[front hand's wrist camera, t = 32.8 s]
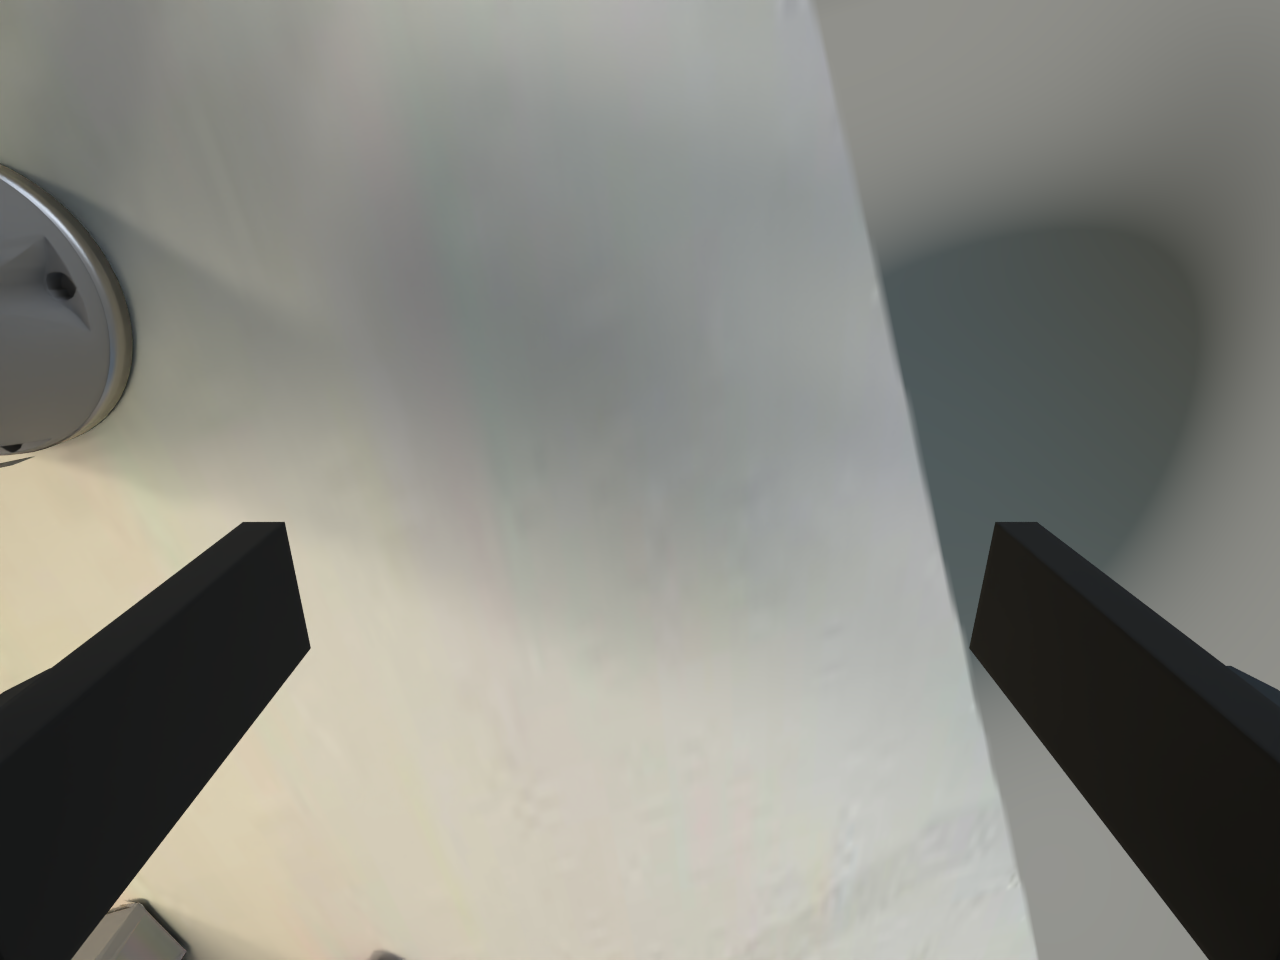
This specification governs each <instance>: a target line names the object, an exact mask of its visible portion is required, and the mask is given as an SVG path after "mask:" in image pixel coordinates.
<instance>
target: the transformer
mask: <svg viewBox="0 0 1280 960" xmlns="http://www.w3.org/2000/svg"><path fill="white" fill-rule="evenodd" d="M120 906H126V907H130V908H127V909H123V910H120V911H116V912H113V913H109V914H106V915H105V916H104V918H103V919H102V920H101V921H100V923H99V924H98V925H97V927H96V928H95V929H94V931H93V932H92V933H91V934H90V936H89V937H88V938H87V940H86V941H85V942H84V944H83V945H82V946H81V947H80V949H79V950H78V951H77V953H76V954H75V955H74V957H73V958H72V959H71V960H181V959H182V958H183V956H184V954H185V953H186V951H187V950H185V949H184V948H183V947H182V946H181V945H180V944H179V943H178V942H177V941H176V940H175V939H174V938H173V937H172V936H171V935H170V934H169V933H168V932H167V931H166V930H165V929H164V928H163V927H162V926H161V925H160V924H159V923H158V922H157V921H156V920H155V919H154V918H153V917H152V916H151V915H150V914H149V912H148V911H147V910H146V909H145V907H144V906H143V904H140V903H133V904H125V905H120Z"/></svg>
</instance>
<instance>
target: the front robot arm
mask: <svg viewBox="0 0 1280 960" xmlns="http://www.w3.org/2000/svg"><path fill="white" fill-rule="evenodd" d="M132 352H133V341H132V329H131V321H130V317H129V312H128V308H127V304H126V301H125V298H124V295H123V292H122V290H121V287H120V285H119V282H118V280H117V278H116V276H115V274H114V272H113V270H112V268H111V266H110V264H109V262H108V261H107V259H106V257H105V256H104V254H103V253H102V251H101V249H100V248H99V246H98V245H97V244H96V242H95V241H94V240H93V238H92V237H91V235H90V234H89V233H88V232H87V231H86V229H85V228H84V227H83V226H82V225H81V224H80V222H79V221H78V220H77V219H76V218H75V217H74V216H73V215H72V214H71V213H70V212H69V211H68V210H67V209H66V208H65V207H64V206H63V205H62V204H60V203H59V202H58V201H57V200H56V199H55V198H54V197H52V196H51V195H50V194H48V193H47V192H46V191H45V190H43V189H42V188H41V187H39V186H38V185H36V184H35V183H33V182H32V181H30V180H29V179H27V178H25V177H24V176H22V175H20V174H19V173H17V172H15V171H13V170H11V169H9V168H7V167H5V166H3V165H1V164H0V455H13V454H22V453H29V452H35V451H38V450H42V449H46V448H48V447H51V446H54V445H56V444H59V443H61V442H64V441H67V440H69V439H72V438H74V437H77V436H79V435H81V434H83V433H85V432H87V431H89V430H90V429H92V428H93V427H94V426H96V425H97V424H99V423H100V422H101V421H102V420H103V419H104V418H105V417H106V416H107V415H108V414H109V413H110V412H111V410H112V409H113V408H114V407H115V405H116V403H117V402H118V400H119V399H120V397H121V395H122V393H123V391H124V389H125V386H126V383H127V380H128V377H129V373H130V368H131V363H132ZM34 457H35V456H34ZM29 458H32V457H29ZM29 458H24V459H19V460H14V461H9V462H4V463H0V468H1V467H6V466H10V465H14V464H17V463H19V462H22V461H24V460H27V459H29ZM310 648H311V647H310V642H309V638H308V633H307V628H306V623H305V618H304V613H303V609H302V604H301V599H300V594H299V589H298V584H297V580H296V575H295V570H294V565H293V560H292V555H291V551H290V546H289V541H288V536H287V531H286V526H285V522H243V523H241V524H240V525H239V526H237V527H236V528H235V529H233V530H232V531H231V532H229V533H228V534H227V535H226V536H224V537H223V538H222V539H220V540H219V541H218V542H216V543H215V544H214V545H212V546H211V547H210V548H208V549H207V550H206V551H205V552H203V553H202V554H201V555H199V556H198V557H197V558H195V559H194V560H193V561H191V562H190V563H189V564H187V565H186V566H185V567H183V568H182V569H181V570H180V571H178V572H177V573H176V574H174V575H173V576H172V577H170V578H169V579H168V580H166V581H165V582H164V583H162V584H161V585H160V586H159V587H157V588H156V589H155V590H153V591H152V592H151V593H149V594H148V595H147V596H145V597H144V598H143V599H141V600H140V601H139V602H138V603H136V604H135V605H134V606H132V607H131V608H130V609H128V610H127V611H126V612H124V613H123V614H122V615H120V616H119V617H118V618H116V619H115V620H114V621H113V622H111V623H110V624H109V625H107V626H106V627H105V628H103V629H102V630H101V631H99V632H98V633H97V634H95V635H94V636H93V637H92V638H90V639H89V640H88V641H86V642H85V643H84V644H82V645H81V646H80V647H78V648H77V649H76V650H74V651H73V652H72V653H71V654H69V655H68V656H67V657H65V658H64V659H63V660H61V661H60V662H59V663H57V664H56V665H55V666H53V667H52V668H50V669H48V670H46V671H44V672H42V673H40V674H38V675H36V676H34V677H32V678H30V679H28V680H26V681H24V682H22V683H20V684H18V685H16V686H14V687H12V688H11V689H9V690H7V691H5V692H3V693H2V694H0V960H71V959H72V958H73V957H74V955H75V954H76V953H77V951H78V950H79V949H80V947H81V946H82V945H83V944H84V942H85V941H86V940H87V938H88V937H89V936H90V934H91V933H92V932H93V931H94V929H95V928H96V927H97V925H98V924H99V923H100V921H101V920H102V919H103V918H104V916H105V915H106V914H107V912H108V911H109V910H110V908H111V907H112V906H113V905H114V903H115V902H116V901H117V899H118V898H119V897H120V895H121V894H122V893H123V892H124V890H125V889H126V888H127V886H128V885H129V884H130V882H131V881H132V880H133V879H134V877H135V876H136V875H137V873H138V872H139V871H140V869H141V868H142V867H143V866H144V864H145V863H146V862H147V860H148V859H149V858H150V856H151V855H152V854H153V853H154V851H155V850H156V849H157V847H158V846H159V845H160V843H161V842H162V841H163V840H164V838H165V837H166V836H167V834H168V833H169V832H170V830H171V829H172V828H173V827H174V825H175V824H176V823H177V821H178V820H179V819H180V817H181V816H182V815H183V814H184V812H185V811H186V810H187V808H188V807H189V806H190V804H191V803H192V802H193V801H194V799H195V798H196V797H197V795H198V794H199V793H200V791H201V790H202V789H203V788H204V786H205V785H206V784H207V782H208V781H209V780H210V778H211V777H212V776H213V775H214V773H215V772H216V771H217V769H218V768H219V767H220V765H221V764H222V763H223V762H224V760H225V759H226V758H227V756H228V755H229V754H230V752H231V751H232V750H233V748H234V747H235V746H236V745H237V743H238V742H239V741H240V739H241V738H242V737H243V735H244V734H245V733H246V732H247V730H248V729H249V728H250V726H251V725H252V724H253V722H254V721H255V720H256V719H257V717H258V716H259V715H260V713H261V712H262V711H263V709H264V708H265V707H266V706H267V704H268V703H269V702H270V700H271V699H272V698H273V696H274V695H275V694H276V693H277V691H278V690H279V689H280V687H281V686H282V685H283V683H284V682H285V681H286V680H287V678H288V677H289V676H290V674H291V673H292V672H293V670H294V669H295V668H296V667H297V665H298V664H299V663H300V661H301V660H302V659H303V657H304V656H305V655H306V654H307V652H308V651H309V650H310ZM969 648H970V650H971V651H972V652H973V654H974V655H975V656H976V657H977V659H978V660H979V661H980V663H981V664H982V665H983V667H984V668H985V669H986V670H987V672H988V673H989V674H990V676H991V677H992V678H993V680H994V681H995V682H996V683H997V685H998V686H999V687H1000V689H1001V690H1002V691H1003V693H1004V694H1005V695H1006V696H1007V698H1008V699H1009V700H1010V702H1011V703H1012V704H1013V706H1014V707H1015V708H1016V709H1017V711H1018V712H1019V713H1020V715H1021V716H1022V717H1023V719H1024V720H1025V721H1026V722H1027V724H1028V725H1029V726H1030V728H1031V729H1032V730H1033V732H1034V733H1035V734H1036V735H1037V737H1038V738H1039V739H1040V741H1041V742H1042V743H1043V745H1044V746H1045V747H1046V748H1047V750H1048V751H1049V752H1050V754H1051V755H1052V756H1053V758H1054V759H1055V760H1056V761H1057V763H1058V764H1059V765H1060V767H1061V768H1062V769H1063V771H1064V772H1065V773H1066V775H1067V776H1068V777H1069V778H1070V780H1071V781H1072V782H1073V784H1074V785H1075V786H1076V788H1077V789H1078V790H1079V791H1080V793H1081V794H1082V795H1083V797H1084V798H1085V799H1086V800H1087V802H1088V803H1089V804H1090V806H1091V807H1092V808H1093V810H1094V811H1095V812H1096V813H1097V815H1098V816H1099V817H1100V819H1101V820H1102V821H1103V823H1104V824H1105V825H1106V826H1107V828H1108V829H1109V830H1110V832H1111V833H1112V834H1113V836H1114V837H1115V838H1116V840H1117V841H1118V842H1119V843H1120V845H1121V846H1122V847H1123V849H1124V850H1125V851H1126V853H1127V854H1128V855H1129V856H1130V858H1131V859H1132V860H1133V862H1134V863H1135V864H1136V866H1137V867H1138V868H1139V869H1140V871H1141V872H1142V873H1143V875H1144V876H1145V877H1146V879H1147V880H1148V881H1149V882H1150V884H1151V885H1152V886H1153V888H1154V889H1155V890H1156V891H1157V893H1158V894H1159V895H1160V897H1161V898H1162V899H1163V901H1164V902H1165V903H1166V905H1167V906H1168V907H1169V908H1170V910H1171V911H1172V912H1173V914H1174V915H1175V916H1176V917H1177V919H1178V920H1179V921H1180V923H1181V924H1182V925H1183V927H1184V928H1185V929H1186V930H1187V932H1188V933H1189V934H1190V936H1191V937H1192V938H1193V940H1194V941H1195V942H1196V944H1197V945H1198V946H1199V947H1200V949H1201V950H1202V951H1203V953H1204V954H1205V955H1206V957H1207V958H1208V959H1209V960H1280V691H1279V690H1277V689H1275V688H1273V687H1271V686H1269V685H1268V684H1266V683H1264V682H1262V681H1260V680H1258V679H1256V678H1254V677H1252V676H1250V675H1248V674H1246V673H1244V672H1242V671H1240V670H1238V669H1236V668H1234V667H1232V666H1225V665H1224V664H1223V663H1221V662H1220V661H1219V660H1217V659H1216V658H1215V657H1213V656H1212V655H1211V654H1209V653H1208V652H1207V651H1206V650H1204V649H1203V648H1202V647H1200V646H1199V645H1198V644H1196V643H1195V642H1194V641H1192V640H1191V639H1190V638H1188V637H1187V636H1186V635H1185V634H1183V633H1182V632H1181V631H1179V630H1178V629H1177V628H1175V627H1174V626H1173V625H1171V624H1170V623H1169V622H1167V621H1166V620H1165V619H1164V618H1162V617H1161V616H1160V615H1158V614H1157V613H1156V612H1154V611H1153V610H1152V609H1150V608H1149V607H1148V606H1146V605H1145V604H1144V603H1142V602H1141V601H1140V600H1139V599H1137V598H1136V597H1135V596H1133V595H1132V594H1131V593H1129V592H1128V591H1127V590H1125V589H1124V588H1123V587H1121V586H1120V585H1119V584H1118V583H1116V582H1115V581H1114V580H1112V579H1111V578H1110V577H1108V576H1107V575H1106V574H1104V573H1103V572H1102V571H1100V570H1099V569H1098V568H1097V567H1095V566H1094V565H1093V564H1091V563H1090V562H1089V561H1087V560H1086V559H1085V558H1083V557H1082V556H1081V555H1079V554H1078V553H1077V552H1075V551H1074V550H1073V549H1072V548H1070V547H1069V546H1068V545H1066V544H1065V543H1064V542H1062V541H1061V540H1060V539H1058V538H1057V537H1056V536H1054V535H1053V534H1052V533H1050V532H1049V531H1048V530H1047V529H1045V528H1044V527H1043V526H1041V525H1040V524H1039V523H1037V522H995V526H994V531H993V536H992V541H991V546H990V551H989V555H988V560H987V565H986V570H985V575H984V580H983V584H982V589H981V594H980V599H979V604H978V609H977V614H976V618H975V623H974V628H973V633H972V638H971V643H970V647H969Z"/></svg>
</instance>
